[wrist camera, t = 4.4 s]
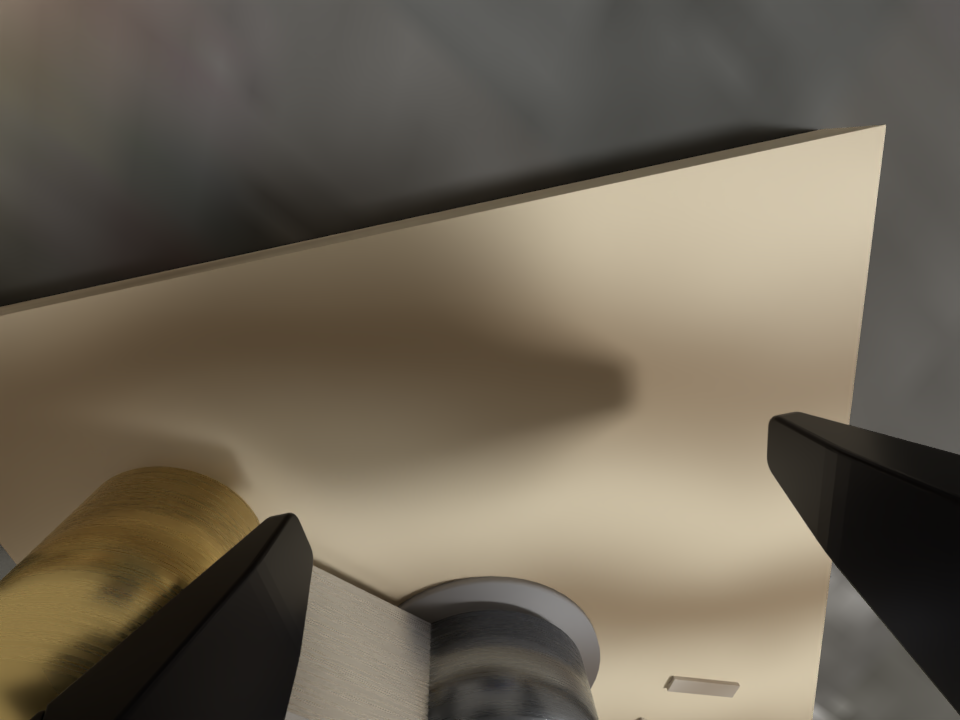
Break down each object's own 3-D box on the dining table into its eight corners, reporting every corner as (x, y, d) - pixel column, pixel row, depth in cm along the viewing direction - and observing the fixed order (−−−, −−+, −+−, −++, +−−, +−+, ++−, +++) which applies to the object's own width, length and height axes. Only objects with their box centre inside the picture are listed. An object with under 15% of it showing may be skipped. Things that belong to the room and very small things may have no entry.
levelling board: (774, 736, 17) (808, 796, 16) (285, 832, 18) (270, 900, 16) (821, 129, 9) (898, 123, 8) (-68, 321, 10) (-170, 354, 8)
